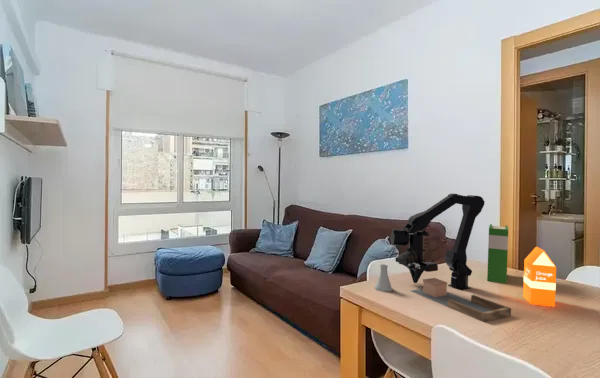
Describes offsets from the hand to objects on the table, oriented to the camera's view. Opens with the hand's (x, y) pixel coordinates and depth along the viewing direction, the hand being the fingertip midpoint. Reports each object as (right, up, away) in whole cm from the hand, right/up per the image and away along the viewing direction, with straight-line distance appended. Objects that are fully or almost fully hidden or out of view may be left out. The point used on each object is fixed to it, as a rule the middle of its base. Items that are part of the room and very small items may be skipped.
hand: (415, 282), depth 139 cm
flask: (-15, -2, -4) cm, 15 cm away
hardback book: (+44, -2, +16) cm, 47 cm away
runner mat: (+8, -2, -18) cm, 20 cm away
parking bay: (+12, -2, -26) cm, 29 cm away
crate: (+4, -2, -9) cm, 10 cm away
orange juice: (+41, -3, -15) cm, 44 cm away
